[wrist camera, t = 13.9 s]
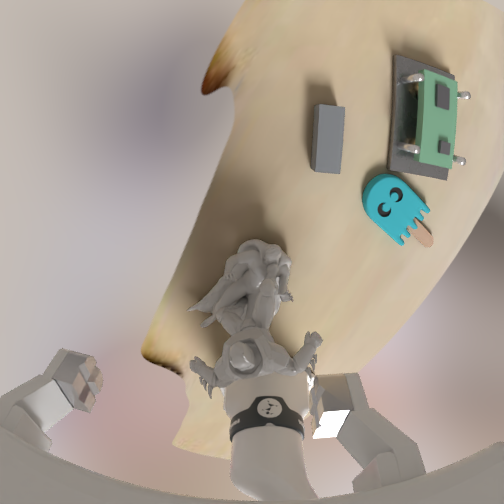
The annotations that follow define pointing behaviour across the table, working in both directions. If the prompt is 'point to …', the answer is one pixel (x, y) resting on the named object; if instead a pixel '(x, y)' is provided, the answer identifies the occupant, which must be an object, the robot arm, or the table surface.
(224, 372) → the figurine
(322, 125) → the grey rectangular block
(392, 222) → the toy
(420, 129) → the board
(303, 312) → the table surface
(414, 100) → the chassis
